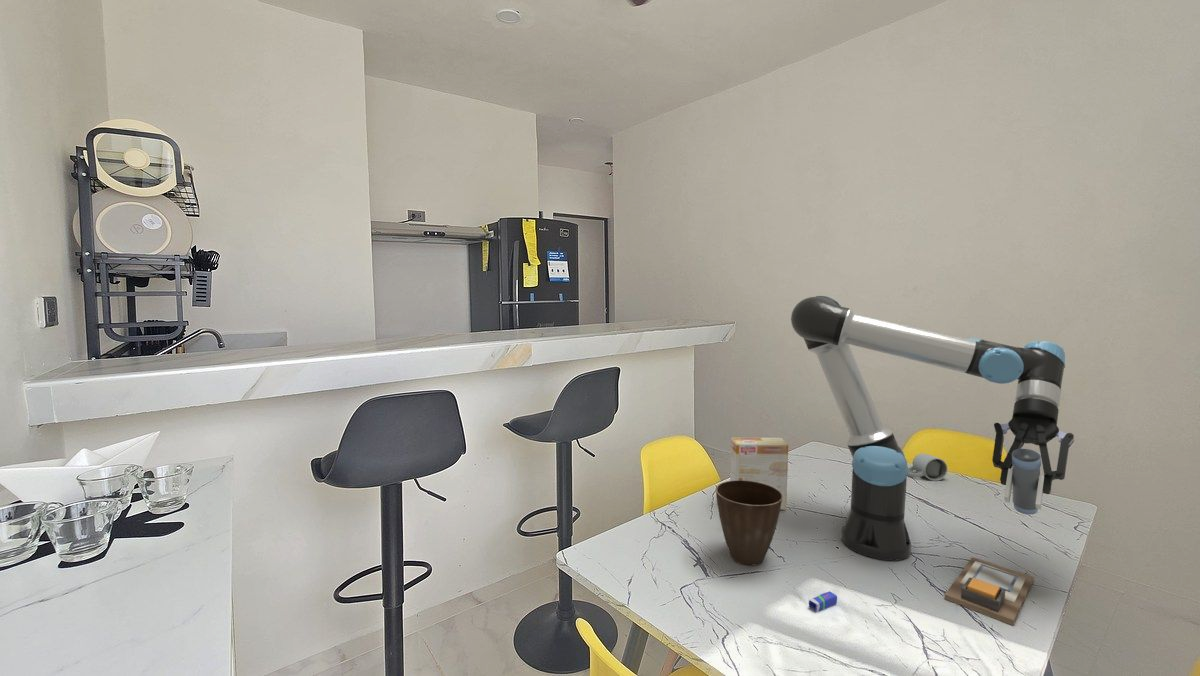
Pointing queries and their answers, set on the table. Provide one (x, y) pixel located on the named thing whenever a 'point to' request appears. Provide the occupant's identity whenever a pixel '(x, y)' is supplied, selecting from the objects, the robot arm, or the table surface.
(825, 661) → the table surface
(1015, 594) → the wooden board
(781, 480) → the coffeecake box
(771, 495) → the plant pot
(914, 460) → the ceramic mug
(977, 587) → the button
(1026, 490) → the cup
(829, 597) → the eraser
